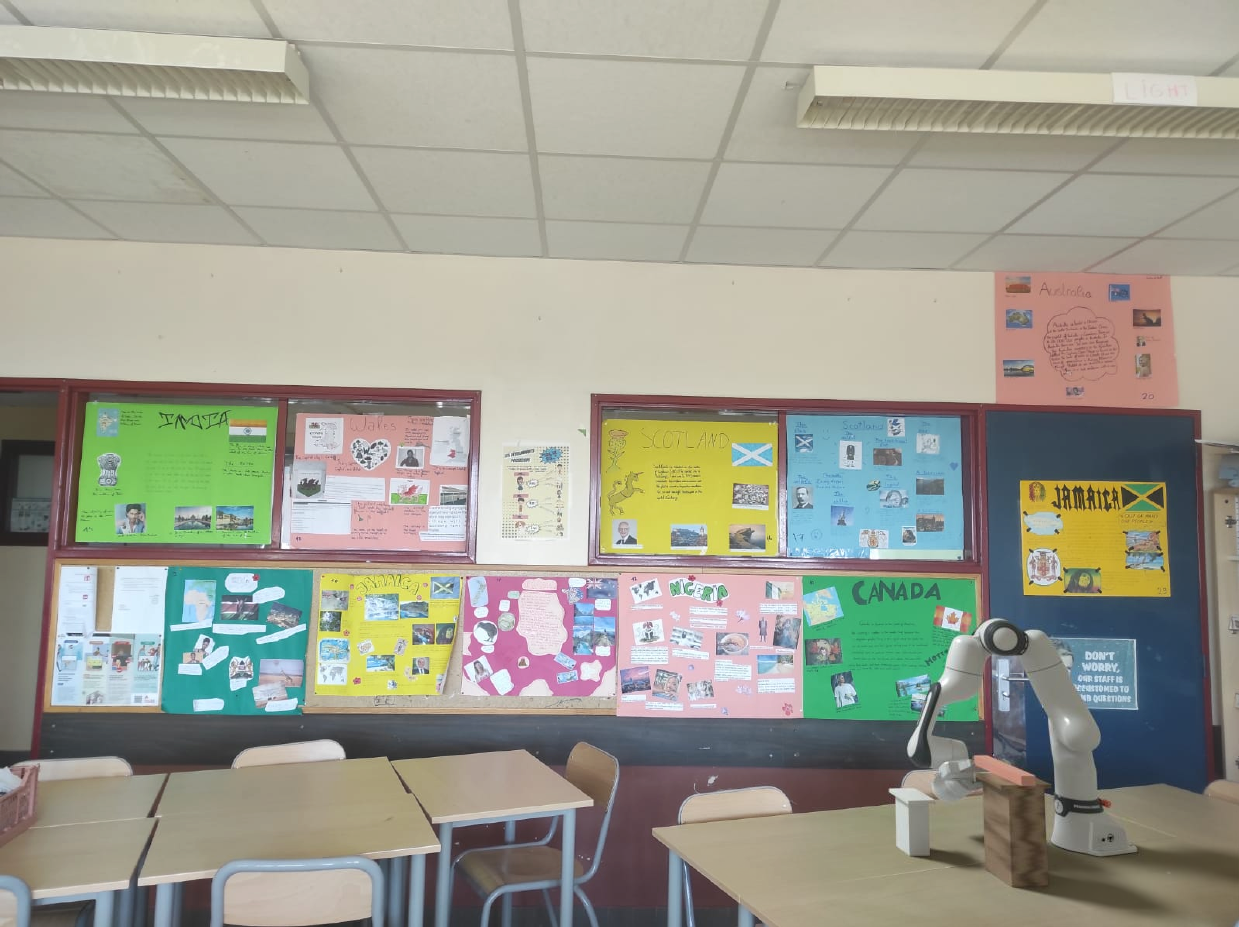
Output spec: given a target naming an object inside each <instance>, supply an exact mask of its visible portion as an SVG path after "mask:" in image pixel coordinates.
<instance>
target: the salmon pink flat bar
mask: <svg viewBox="0 0 1239 927" xmlns="http://www.w3.org/2000/svg"><path fill="white" fill-rule="evenodd" d="M973 760H974V763H975V765H976V766H978V767H981V768H983V769H985V770H987V771H989V772H992V773H994V774H996V775H998V776H1000V777H1003V778H1005V779H1007V780H1009V781H1011V782H1014V783H1016V784H1018V785H1020V786H1036V778H1037V777H1036V775H1035V774H1033V773H1030V772H1028V771H1025V770H1023V769H1021V768H1018V767H1016V766H1013V765H1012V764H1011V765H1009V764H1006V763H1004V762H1002V761H999V759H997V758H994V757H992V756H990V755H984V754H982V755H981V754H980V755H979V754H978V755H976V754H975V755H973Z"/></svg>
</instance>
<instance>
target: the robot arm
mask: <svg viewBox="0 0 1239 927" xmlns="http://www.w3.org/2000/svg"><path fill="white" fill-rule="evenodd" d="M992 655H996V656H1000V657H1014V656H1015V657H1016V658H1017V659H1018V661H1020V664H1021V666H1022V668H1023V670H1024V672H1025V675H1026V677H1027V679H1028V680H1029V684H1030V685H1031V687H1032V689H1033V691H1034V694H1035V696H1036V697H1037V700H1039V703H1040V705H1041V706H1042V708H1043V710H1044V712H1045V713H1046V715H1047V718H1048V719H1047V721H1048V722H1047V723H1048V724H1047V725H1048V733H1049V741H1050V742H1049V743H1050V749H1051V755H1052V760H1053V771H1054V772H1053V773H1054V774H1053V775H1054V792H1053V807H1054V823H1053V830H1052V836H1051V839H1050V841H1051V843H1052V844H1054V845H1055V846H1057V847H1060V848H1062V849H1065V850H1069V851H1073V852H1077V853H1083V854H1088V855H1091V856H1095V857H1107V856H1115V855H1124V854H1129V853H1130V854H1131V853H1137V852H1138V848H1137V846H1136V845H1135V844H1134V843H1131V842H1130V841H1128V837H1127V836H1128V835H1127V833H1126V829H1125V827H1124V826H1123V825H1122V824H1121V823H1120V822H1119V821H1117V820H1116V819H1115V818H1113V817H1112V816H1111V815H1110V814H1109V813H1108V812H1106V811H1105V808H1107V809H1110V808H1111V807H1112V802H1111V801H1110V800H1107V799H1102V798H1100V797H1098V780H1097V776H1098V775H1097V768H1096V765H1095V760H1094V757H1093V756H1094V755H1093V751H1094V750H1095V749H1097V748H1098V746H1099V745H1100V743H1101V738H1102V737H1101V731H1100V728H1099V726H1098V724H1097V722H1096V721H1095V719H1094V717H1093V714H1091V711H1090V710H1089V708H1088V706H1087V705H1086V703H1085V701H1084V699H1083V697H1082V696H1081V694H1080V693H1079V691H1078V689H1077V687H1076V686H1075V684H1074V682H1073V680H1072V678H1071V676H1070V673H1069V672H1068V669H1067V668H1066V665H1065V663H1064V661H1063V659H1062V657H1061V656H1060V653H1059V651H1058V650H1057V648H1056V646H1055V645H1054V643H1053V642H1052V641H1051V639H1050V638H1049V637H1048V635H1047V634H1046V632H1044V631H1042V630H1040V629H1027V630H1026V631H1024V630H1022V629H1021V628H1019V627H1018V626H1017V625H1016V624H1014V623H1013V622H1011V621H1008V620H1006V619H1004V618H999V617H998V618H997V617H996V618H995V617H994V618H993V617H992V618H988V619H985V620H983V621H982V622H981V623H979V625H978V626H977V627H976V628H975V630H973V632H972V633H971V634H959V635H957V636H955V637H954V638H953V639H952V641H951V644H950V647H949V649H948V652H947V655H946V660H945V665H944V669H943V673H942V675H941V677H940V678H939V680H937V681H936V682H933V683H932V684H931V685H930V687H929V689H928V691H927V693H926V696H925V698H924V701H923V704H922V706H921V710H920V713H919V716H918V719H917V721H916V724H915V727H914V730H913V732H912V733H911V735H910V738H909V739H908V742H907V746H906V754H907V757H908V758H909V760H910V761H911V762H912V763H913V765H915V766H916V767H917V768H926V769H935V770H938V771H937V772H935V773H934V777H935V778H934V779H933V781H932V782H931V790H932V792H933V794H934V796H935V797H936V798H937V799H938V800H940V801H942V802H944V803H954V802H957V801H960V800H963V799H964V798H965V797H966V796H968V795H970V794H972V793H974V792H975V793H976V792H978V791H980V790H983V783H982V782H974V773H979V772H989V771H987V770H985V769H983V768H981V767H978V766H976V765H975V763H974V756H973V754H972V751H971V750H970V748H969V747H968V745H967V744H966V742H964V741H963V740H959V739H953V738H949V737H942V736H937V735H933V734H932V733H933V730H934V727H935V724H936V722H937V719H938V715H939V713H940V711H941V710H942V708H944V707H945V706H947V705H950V704H953V703H954V704H955V703H959V702H964V701H968V700H970V699H972V698H974V697H976V695H978V693H979V692H980V690H981V688H982V684H983V678H984V672H985V666H986V662H987V660H988V658H990V657H991V656H992ZM998 760H999V761H1002V762H1004V763H1006V764H1009V765H1011V766H1012V764H1011V762H1010V761H1009V760H1006V759H1005V758H999V759H998ZM1104 807H1105V808H1104Z"/></svg>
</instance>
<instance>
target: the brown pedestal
mask: <svg viewBox="0 0 1239 927" xmlns="http://www.w3.org/2000/svg"><path fill="white" fill-rule="evenodd" d="M974 782H982V783H983V789H982V806H983V807H982V809H983V810H982V811H983V813H982V814H983V837H984V840H983V841H984V842H983V843H984V869H985V870H986V871H987V872H989V873H990V874H992V875H994V877H996V878H997V879H999V880H1001V881H1002V882H1004V883H1005V884H1007V885H1008V886H1010V887H1011V888H1017V887H1018V888H1019V887H1021V888H1022V887H1023V888H1024V887H1045V886H1047V887H1048V886H1049V870H1048V852H1047V851H1048V845H1047V824H1046V823H1047V822H1046V821H1047V820H1046V801H1045V800H1046V798H1045V796H1046V795H1045V789H1052V783H1049V782H1046V781H1045V780H1041V779H1040V778H1037V777H1036V786H1020V785H1018V784H1016V783H1014V782H1011V781H1009V780H1007V779H1005V778H1003V777H1000V776H998V775H996V774H994V773H992V772H979V773H974Z"/></svg>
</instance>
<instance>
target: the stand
mask: <svg viewBox="0 0 1239 927" xmlns="http://www.w3.org/2000/svg"><path fill="white" fill-rule="evenodd" d="M888 793H890V795H893V796H895V797H894V798H895V845H896V846H895V847H897V848H899V849H900V850H901V851H902V852H904V854H906V855H908V856H909V857H918V856H926V857H927V856H930V855H931V854H930V853H931V850H930V817H929V816H930V810H929V809H930V808H929V806H930V805H936V799H934V798H932V797H931V796H929V795H927V794H925V793H924V792H922V791H920V790H919V789H917V788H916V787H911V788H908V787H906V788H904V787H903V788H902V787H901V788H900V787H899V788H888Z"/></svg>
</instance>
